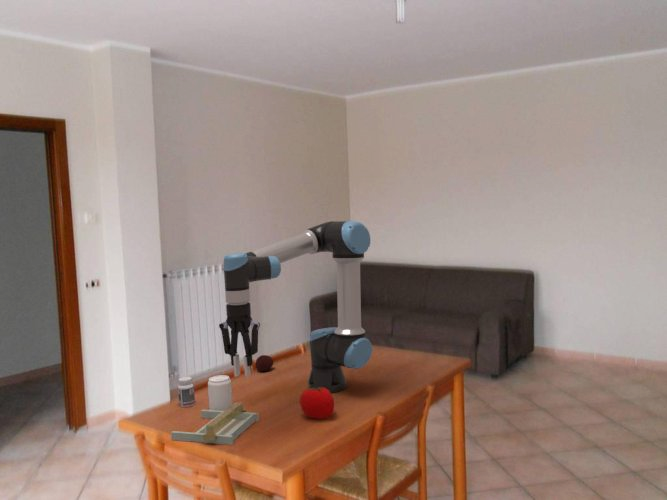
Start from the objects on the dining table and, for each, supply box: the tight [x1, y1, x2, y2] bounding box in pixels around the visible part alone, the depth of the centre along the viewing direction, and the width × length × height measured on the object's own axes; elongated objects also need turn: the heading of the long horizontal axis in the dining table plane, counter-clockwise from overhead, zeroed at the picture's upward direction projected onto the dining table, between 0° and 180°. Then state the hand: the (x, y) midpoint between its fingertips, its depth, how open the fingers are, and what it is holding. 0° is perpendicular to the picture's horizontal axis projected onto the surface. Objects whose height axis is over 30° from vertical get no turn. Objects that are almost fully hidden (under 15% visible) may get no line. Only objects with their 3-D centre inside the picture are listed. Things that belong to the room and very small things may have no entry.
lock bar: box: [203, 401, 247, 441], centre depth 190 cm, size 4×23×4 cm, turn 164°
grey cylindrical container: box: [207, 374, 234, 411], centre depth 208 cm, size 8×8×12 cm
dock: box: [170, 409, 259, 446], centre depth 191 cm, size 21×20×2 cm
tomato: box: [299, 387, 335, 420], centre depth 198 cm, size 11×13×10 cm
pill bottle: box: [177, 376, 196, 408], centre depth 216 cm, size 6×6×10 cm
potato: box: [255, 354, 274, 372], centre depth 256 cm, size 7×8×7 cm
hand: (242, 375), depth 186 cm, fingers open, 3 cm apart
